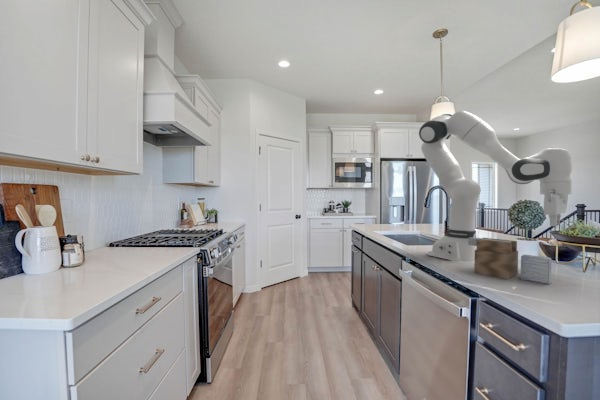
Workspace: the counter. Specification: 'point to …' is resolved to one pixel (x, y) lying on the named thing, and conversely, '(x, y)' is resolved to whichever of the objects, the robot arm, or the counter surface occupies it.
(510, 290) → the counter surface
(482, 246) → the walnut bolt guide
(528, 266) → the medicine box
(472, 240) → the grey square bar
